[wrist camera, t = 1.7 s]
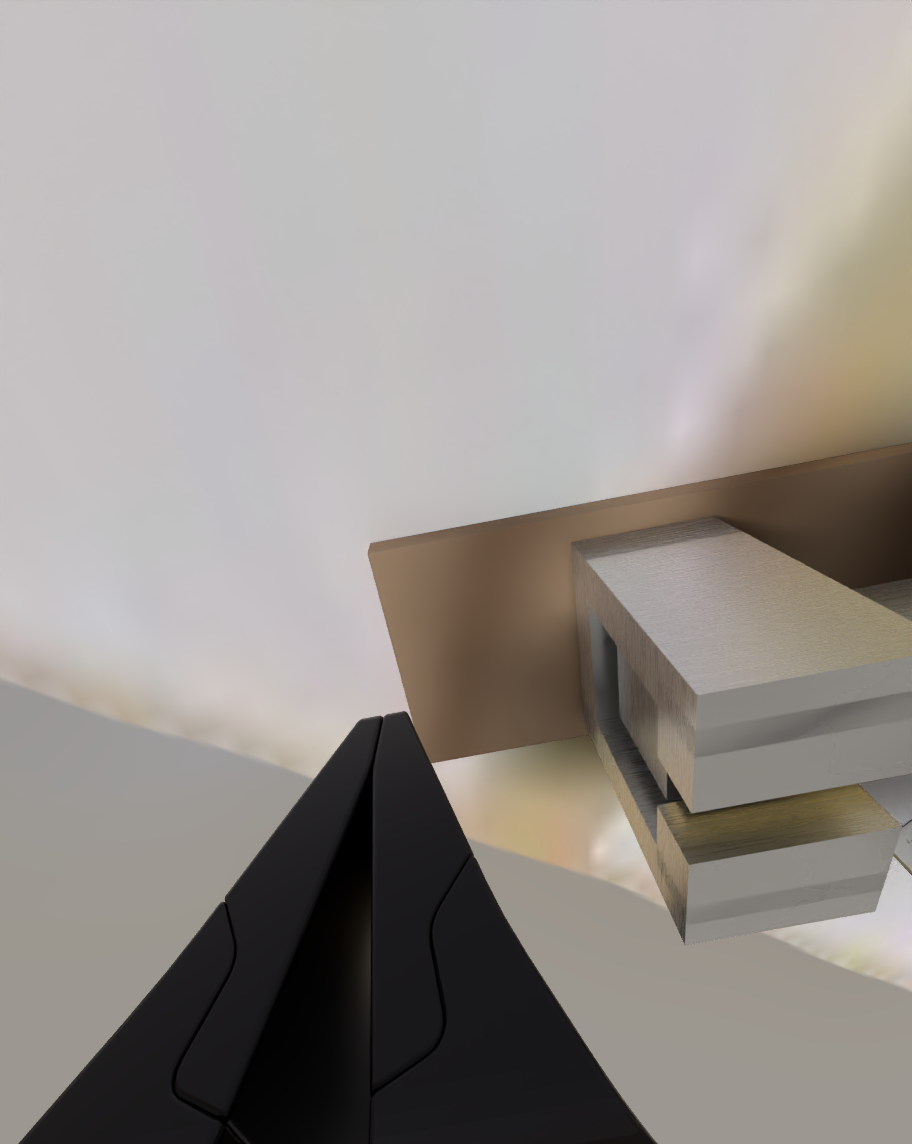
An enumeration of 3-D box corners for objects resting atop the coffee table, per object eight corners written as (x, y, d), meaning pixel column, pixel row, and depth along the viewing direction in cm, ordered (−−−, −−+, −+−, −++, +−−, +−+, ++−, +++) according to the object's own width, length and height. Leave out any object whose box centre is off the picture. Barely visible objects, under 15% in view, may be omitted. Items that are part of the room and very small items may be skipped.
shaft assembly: (596, 700, 16) (701, 905, 10) (587, 559, 14) (716, 711, 8) (986, 629, 16) (1331, 792, 10) (1040, 475, 14) (1523, 565, 8)
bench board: (1051, 416, 14) (1086, 419, 13) (973, 646, 17) (998, 659, 16) (370, 543, 14) (367, 553, 13) (424, 747, 17) (424, 764, 16)
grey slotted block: (584, 723, 16) (684, 945, 10) (571, 542, 13) (698, 695, 7) (702, 702, 16) (874, 911, 10) (713, 516, 13) (960, 647, 7)
